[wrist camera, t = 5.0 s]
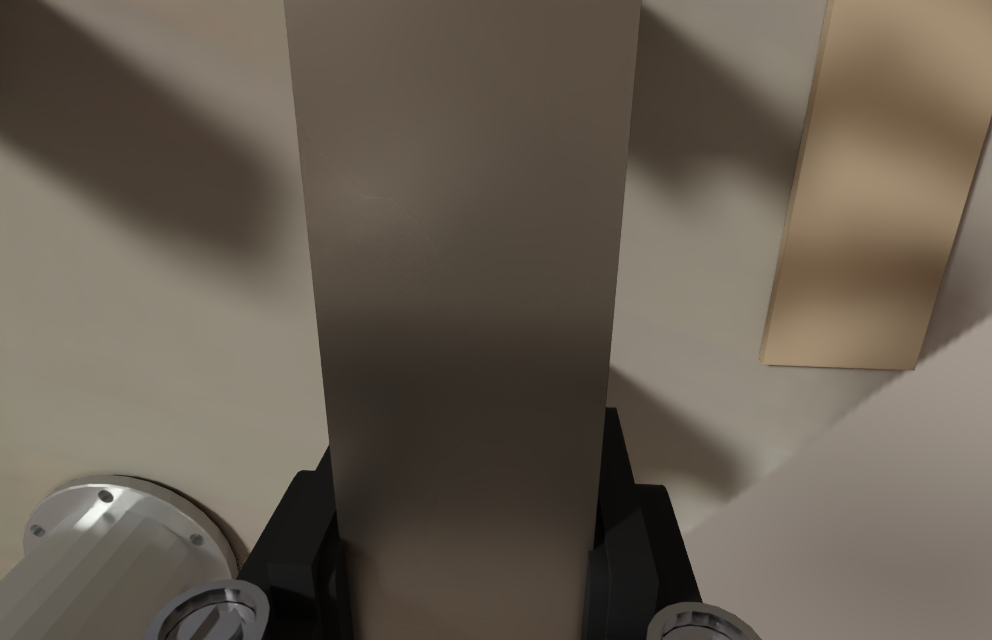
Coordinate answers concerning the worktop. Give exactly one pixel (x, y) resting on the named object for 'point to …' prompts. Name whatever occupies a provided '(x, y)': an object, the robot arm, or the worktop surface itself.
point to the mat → (880, 181)
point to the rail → (464, 296)
